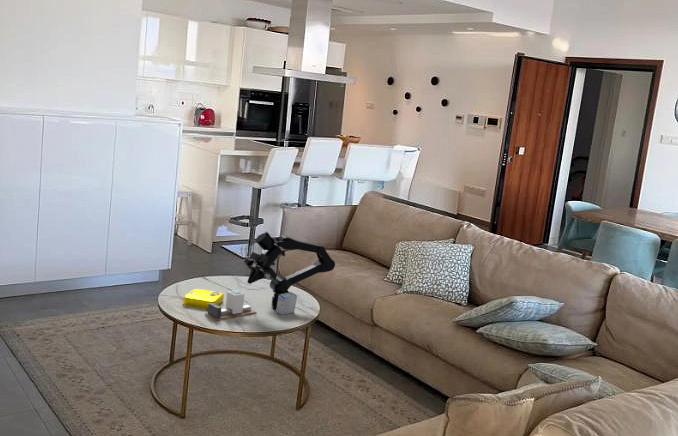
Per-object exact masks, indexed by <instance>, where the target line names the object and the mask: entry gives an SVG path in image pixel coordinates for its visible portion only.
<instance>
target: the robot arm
mask: <svg viewBox="0 0 678 436" xmlns="http://www.w3.org/2000/svg"><path fill="white" fill-rule="evenodd" d="M255 243H256V244H257V245H258V246H259V247H260V248H261V249H262V251H266V252H265V253H260V254H259V253H256V252H254V251H252V252H251V254H250V256H249V258H245V259H244V261H243V263H244V264H245V265H246V266H247V268H248V269H249V270H250V273H249V277H248V279H247V282H246V283H248V284H249V285H251V284H254V283H255V282H258V281H259V280H263V279H266V278H267V275H269V279H271V280H270V282H269V287H270V289H271V290H272V292H273V296H272V298H271V307H272V309H274V310H276V309H277V303H278V296H279V294H284V293H289V292H290V291H289V289H291V286H293V285H295V284H297V283H299V282H302V281H303V280H306V279H308V278H310V277H312V276H314V275H317V274H319V273H320V274H321V273H329V272H331V271H333V270H334V269H335V267H336V262H335V260H333V259H332V257H331V256H330V255H329V253H328V252H327V250H326V248H325V246H324V245H321V244H320V243H318V244H317V243H312V242H307V241H301V240H298V239H294V238H293V237H291V236H288V235H285V234H281V235H279V236H278V237H272V236H271V235H270V233H269V232H268V231H265V232H263V233H261V234H259V235H258V236H257V237H256V238H255ZM287 250H289V251H291V250H292V251H293V250H299V251H304V252H310V253H314V254H316V257H317V259H316V261H315V262H314V263H313V264H311V265H309V266H306V267H304V268H302V269H300V270H297V271H296V272H293V273H292V274H289V275H287V276H285V275H284V274H282V273H281V274H277V273H276V271H275V270H274V269H273V268H272V266H274V267H275V265H276V263H275V262H276V261H277V259H278V258H279V257H285V256H286V252H285V251H287Z"/></svg>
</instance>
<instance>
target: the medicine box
mask: <svg viewBox="0 0 678 436" xmlns="http://www.w3.org/2000/svg"><path fill="white" fill-rule="evenodd" d="M297 299H298V294H295V293H293V292H292V291H289V293H284V294H279V296H278V303H277V309H275V311H276V313H277V314H280V316H281V315H282V316H283V315H288V314H292V313H295V309H296V305H297Z"/></svg>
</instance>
